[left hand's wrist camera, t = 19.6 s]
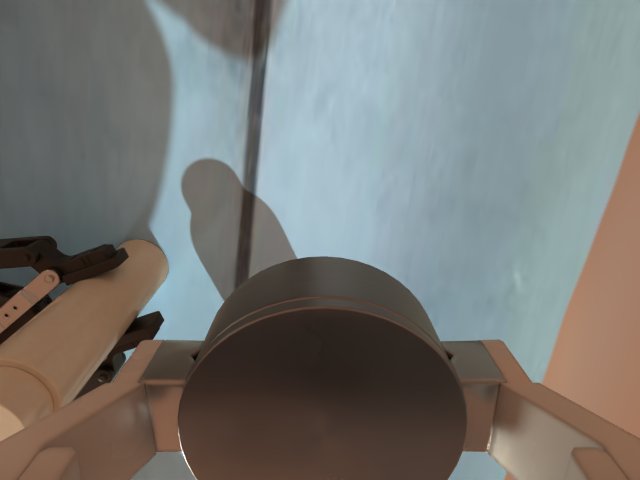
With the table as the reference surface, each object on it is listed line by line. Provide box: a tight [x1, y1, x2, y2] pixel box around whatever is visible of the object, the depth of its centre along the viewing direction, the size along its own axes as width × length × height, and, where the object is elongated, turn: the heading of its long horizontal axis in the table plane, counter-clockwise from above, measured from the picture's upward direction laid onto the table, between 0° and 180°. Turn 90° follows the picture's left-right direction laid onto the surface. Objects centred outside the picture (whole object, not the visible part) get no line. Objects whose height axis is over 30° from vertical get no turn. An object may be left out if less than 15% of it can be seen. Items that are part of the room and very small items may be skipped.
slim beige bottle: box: [0, 239, 169, 441], centre depth 27 cm, size 5×5×18 cm
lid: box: [178, 257, 468, 480], centre depth 9 cm, size 6×6×2 cm
